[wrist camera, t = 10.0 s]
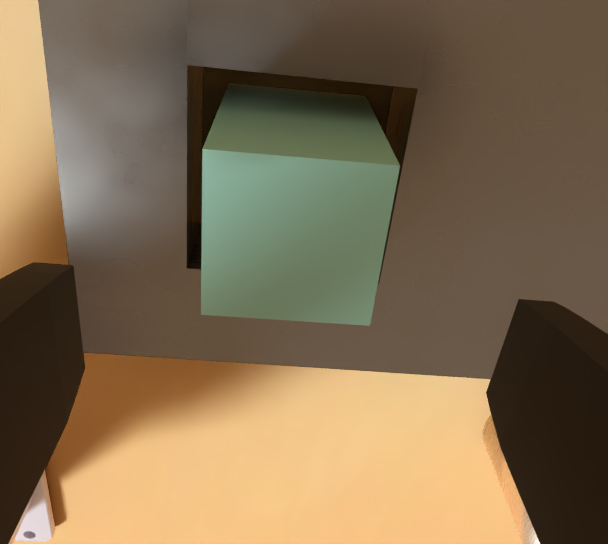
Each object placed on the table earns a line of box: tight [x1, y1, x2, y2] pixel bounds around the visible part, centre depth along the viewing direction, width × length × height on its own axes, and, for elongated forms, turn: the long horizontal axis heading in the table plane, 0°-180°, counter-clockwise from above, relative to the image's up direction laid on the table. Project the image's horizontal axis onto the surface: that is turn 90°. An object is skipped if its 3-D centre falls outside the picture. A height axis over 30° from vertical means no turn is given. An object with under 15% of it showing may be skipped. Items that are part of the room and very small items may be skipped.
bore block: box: [38, 0, 608, 379], centre depth 17 cm, size 18×12×3 cm, turn 84°
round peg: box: [483, 415, 540, 544], centre depth 21 cm, size 4×4×6 cm
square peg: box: [201, 83, 400, 326], centre depth 15 cm, size 4×4×6 cm
